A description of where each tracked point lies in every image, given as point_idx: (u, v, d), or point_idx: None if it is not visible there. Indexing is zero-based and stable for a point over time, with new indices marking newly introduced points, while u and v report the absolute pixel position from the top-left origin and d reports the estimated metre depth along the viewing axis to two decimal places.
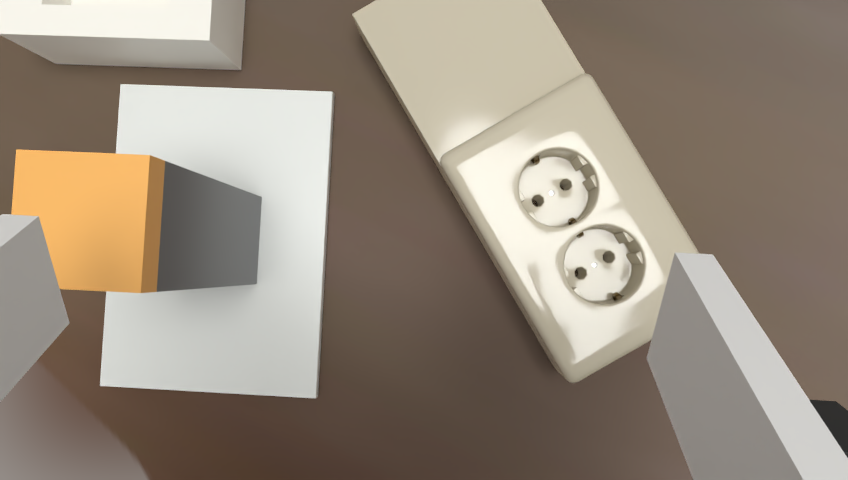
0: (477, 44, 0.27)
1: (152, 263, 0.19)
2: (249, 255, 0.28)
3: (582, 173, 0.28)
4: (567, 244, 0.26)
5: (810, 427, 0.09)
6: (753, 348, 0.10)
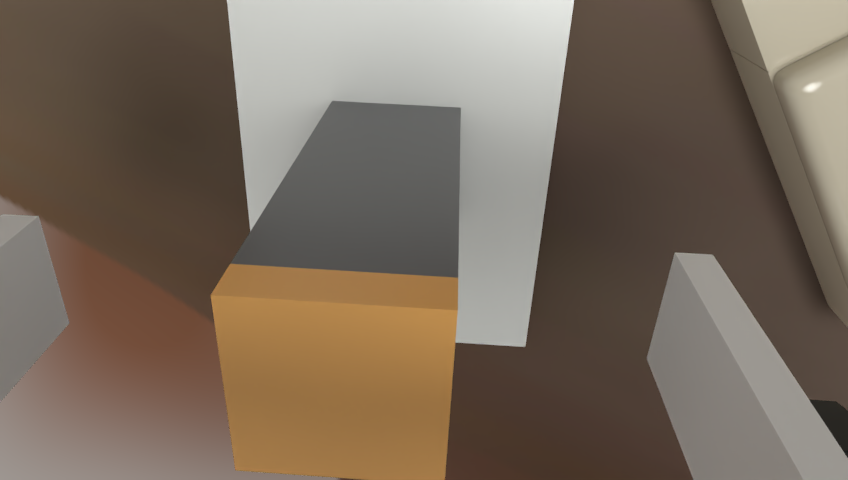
0: None
1: None
2: None
3: None
4: None
5: (810, 427, 0.09)
6: (753, 348, 0.10)
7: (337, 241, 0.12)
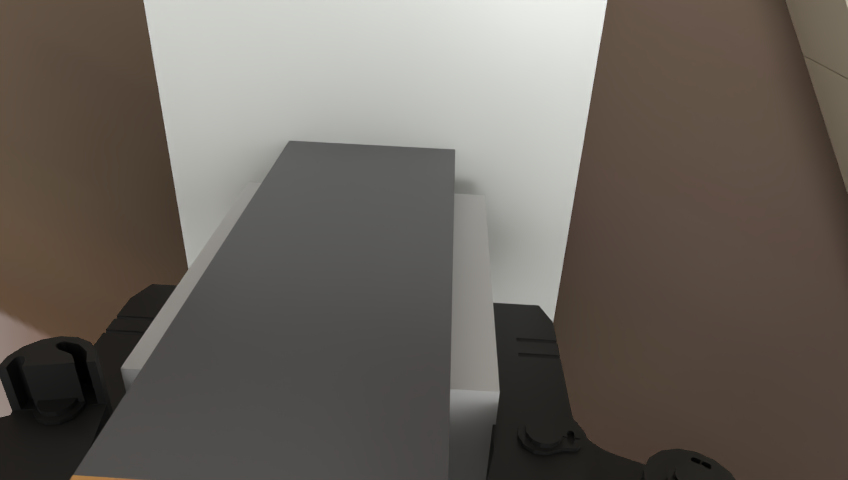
0: None
1: None
2: None
3: None
4: None
5: (479, 314, 0.11)
6: (471, 261, 0.12)
7: (259, 415, 0.08)
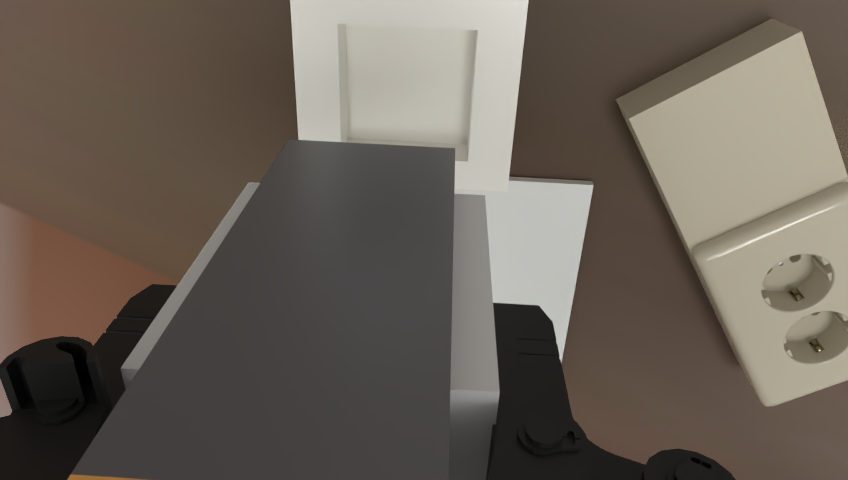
0: (750, 149, 0.28)
1: None
2: None
3: None
4: (792, 324, 0.31)
5: (479, 314, 0.11)
6: (471, 261, 0.12)
7: (258, 413, 0.08)
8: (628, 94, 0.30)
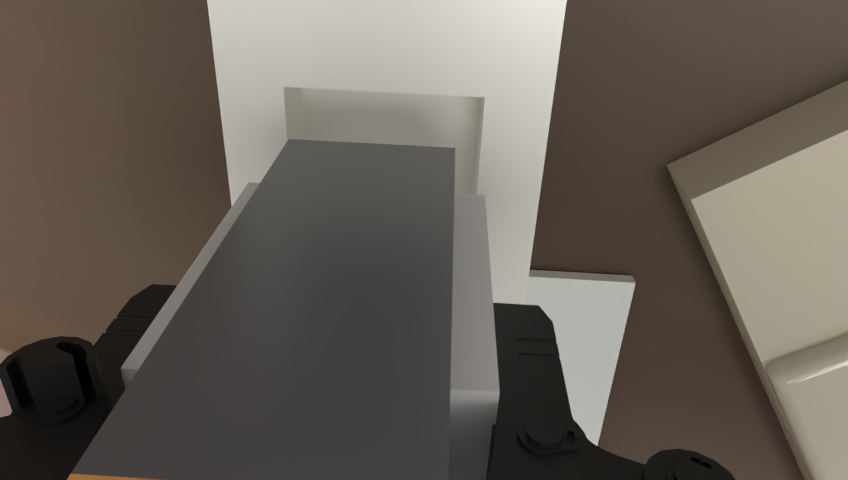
0: None
1: None
2: None
3: None
4: None
5: (479, 314, 0.11)
6: (471, 261, 0.12)
7: (258, 413, 0.08)
8: (684, 159, 0.22)
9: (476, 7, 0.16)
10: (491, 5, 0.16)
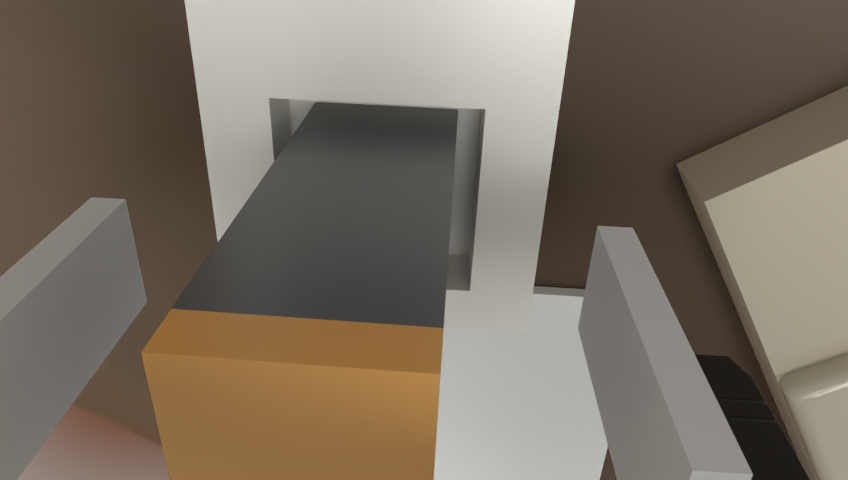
0: None
1: None
2: None
3: None
4: None
5: (688, 373, 0.10)
6: (652, 307, 0.11)
7: (303, 278, 0.10)
8: (695, 157, 0.20)
9: (477, 13, 0.15)
10: (492, 10, 0.15)
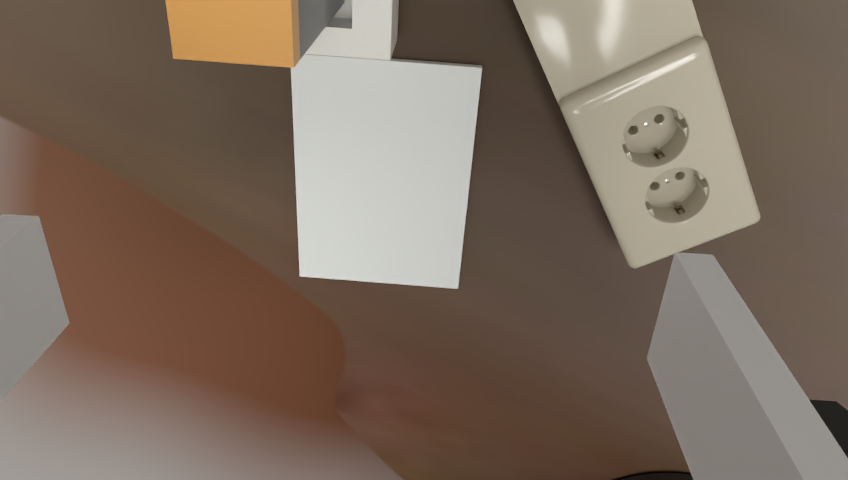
0: None
1: (296, 36, 0.22)
2: None
3: None
4: (652, 180, 0.33)
5: (810, 427, 0.09)
6: (753, 348, 0.10)
7: None
8: None
9: None
10: None
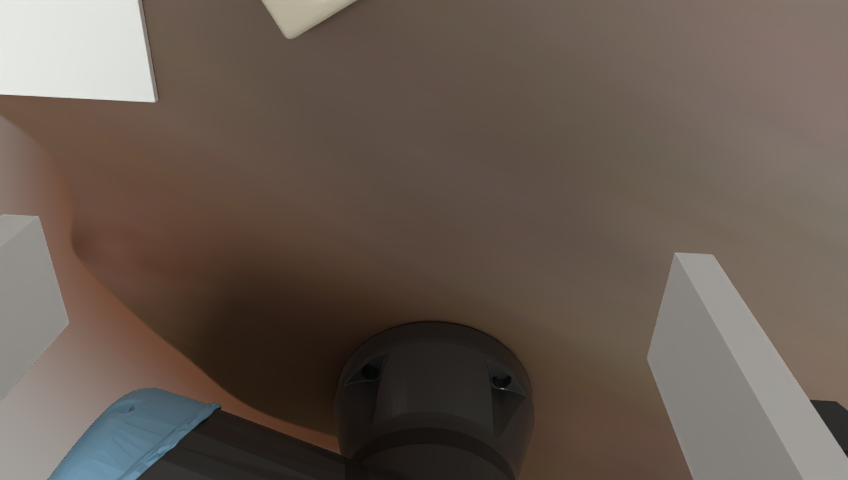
0: None
1: None
2: None
3: None
4: None
5: (810, 427, 0.09)
6: (753, 348, 0.10)
7: None
8: None
9: None
10: None
